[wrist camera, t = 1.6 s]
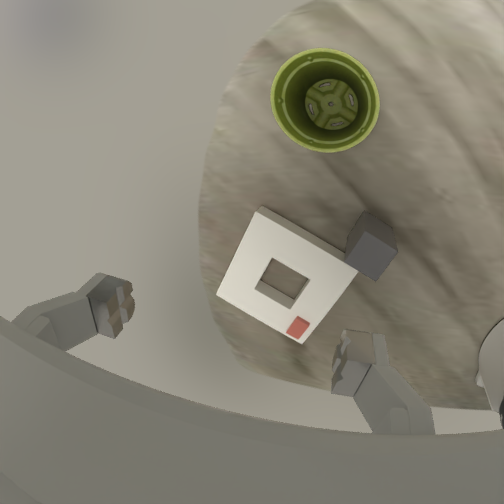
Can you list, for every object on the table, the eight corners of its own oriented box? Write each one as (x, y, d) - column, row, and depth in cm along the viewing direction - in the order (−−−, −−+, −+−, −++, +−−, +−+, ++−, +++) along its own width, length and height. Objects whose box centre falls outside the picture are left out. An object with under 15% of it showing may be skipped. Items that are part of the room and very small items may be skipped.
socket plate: (359, 261, 37) (358, 274, 34) (305, 333, 44) (300, 347, 41) (261, 205, 38) (253, 213, 36) (223, 285, 45) (213, 297, 43)
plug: (392, 227, 34) (398, 251, 28) (374, 253, 36) (375, 281, 30) (364, 210, 34) (365, 230, 28) (347, 237, 36) (344, 262, 30)
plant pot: (357, 55, 27) (357, 36, 20) (384, 134, 30) (393, 139, 22) (279, 78, 31) (255, 67, 24) (306, 153, 34) (290, 164, 26)
